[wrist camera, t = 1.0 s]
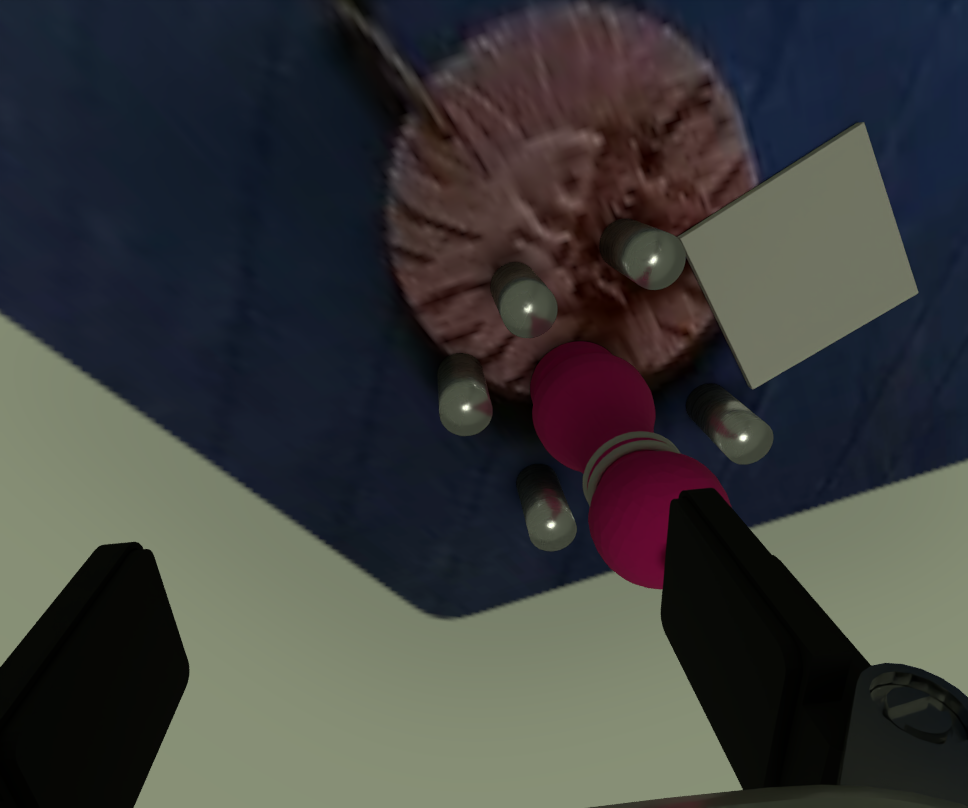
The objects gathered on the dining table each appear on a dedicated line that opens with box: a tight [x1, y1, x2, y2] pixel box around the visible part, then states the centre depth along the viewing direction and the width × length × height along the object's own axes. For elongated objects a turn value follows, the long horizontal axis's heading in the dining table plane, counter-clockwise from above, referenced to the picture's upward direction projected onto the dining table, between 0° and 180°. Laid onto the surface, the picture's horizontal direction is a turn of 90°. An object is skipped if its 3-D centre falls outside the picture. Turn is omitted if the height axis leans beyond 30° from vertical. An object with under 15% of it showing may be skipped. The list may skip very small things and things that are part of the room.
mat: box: [677, 122, 918, 389], centre depth 39 cm, size 12×12×1 cm
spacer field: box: [437, 219, 773, 551], centre depth 38 cm, size 16×19×6 cm
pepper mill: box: [530, 341, 731, 589], centre depth 32 cm, size 7×7×20 cm
